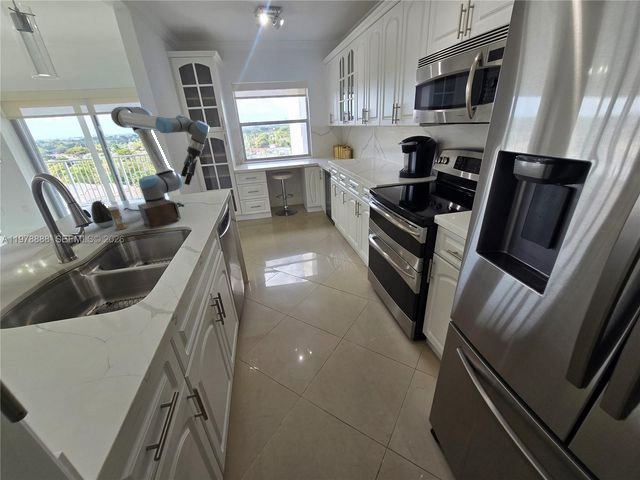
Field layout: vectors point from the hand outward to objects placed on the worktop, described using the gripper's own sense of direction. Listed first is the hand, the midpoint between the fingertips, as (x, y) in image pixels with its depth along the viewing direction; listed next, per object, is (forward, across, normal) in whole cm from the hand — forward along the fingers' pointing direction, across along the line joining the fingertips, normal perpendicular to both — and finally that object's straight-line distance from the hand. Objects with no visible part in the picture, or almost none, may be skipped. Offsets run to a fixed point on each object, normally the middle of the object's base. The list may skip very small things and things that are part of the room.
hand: (184, 180), depth 160 cm
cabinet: (+24, -15, +8) cm, 30 cm away
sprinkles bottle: (+35, -11, +26) cm, 44 cm away
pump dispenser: (+41, +1, +31) cm, 51 cm away
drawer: (+22, -13, +5) cm, 26 cm away
